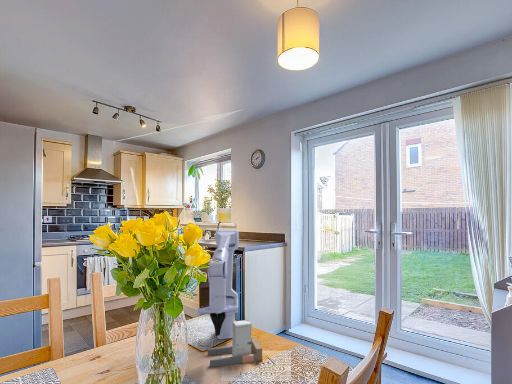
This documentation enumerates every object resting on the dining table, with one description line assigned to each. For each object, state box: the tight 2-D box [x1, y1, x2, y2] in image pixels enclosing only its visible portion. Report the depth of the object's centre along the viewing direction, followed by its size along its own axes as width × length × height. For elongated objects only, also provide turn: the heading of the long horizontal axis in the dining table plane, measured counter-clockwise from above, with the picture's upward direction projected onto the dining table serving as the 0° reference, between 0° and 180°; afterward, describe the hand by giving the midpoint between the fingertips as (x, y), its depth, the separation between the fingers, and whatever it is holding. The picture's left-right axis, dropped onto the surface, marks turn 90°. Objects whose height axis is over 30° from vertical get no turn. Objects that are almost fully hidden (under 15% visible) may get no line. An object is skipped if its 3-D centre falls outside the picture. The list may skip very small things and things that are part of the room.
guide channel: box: [207, 337, 263, 368], centre depth 107 cm, size 9×18×4 cm, turn 104°
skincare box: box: [231, 319, 252, 357], centre depth 107 cm, size 6×4×12 cm
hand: (217, 334), depth 106 cm, fingers closed
